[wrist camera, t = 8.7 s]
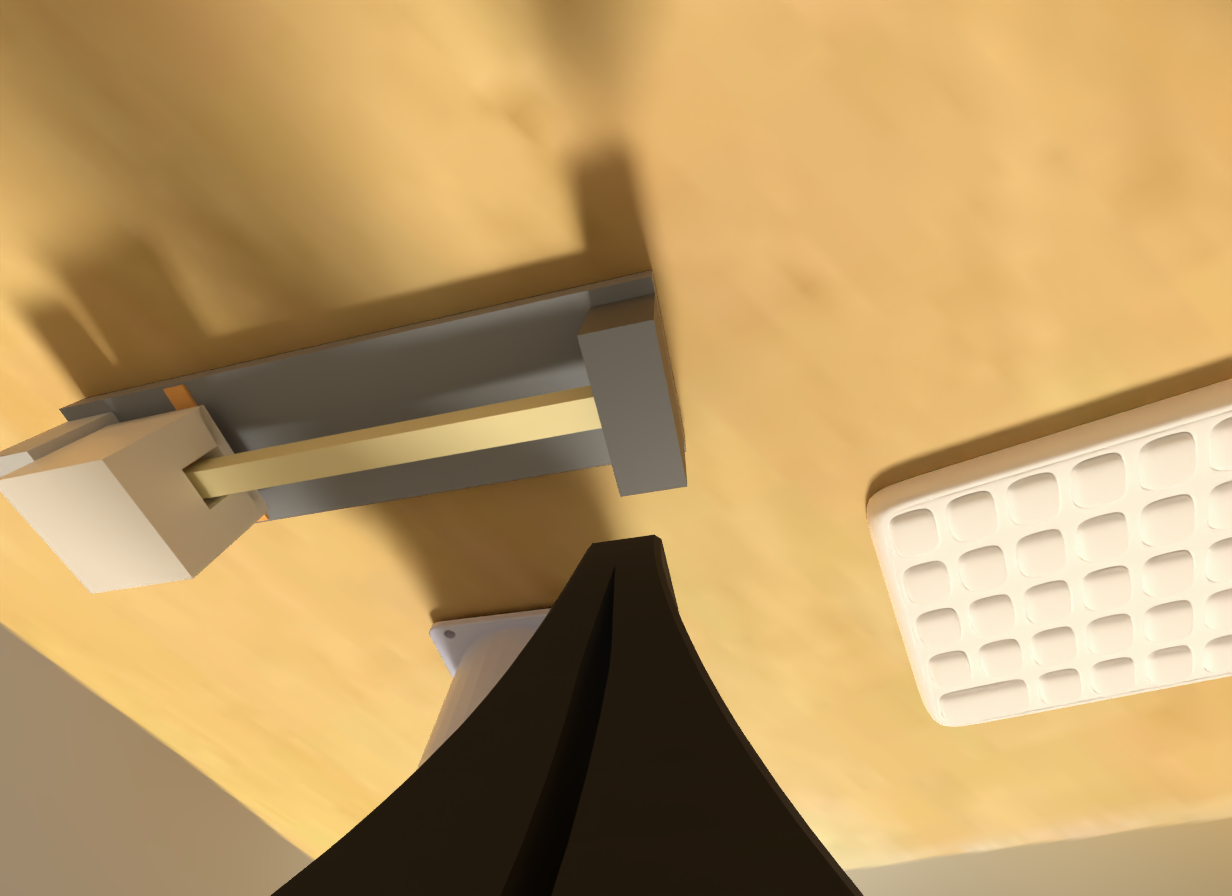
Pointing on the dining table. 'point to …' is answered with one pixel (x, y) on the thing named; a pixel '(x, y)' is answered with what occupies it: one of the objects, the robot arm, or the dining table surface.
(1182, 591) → the calculator
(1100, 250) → the dining table surface
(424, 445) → the cord board
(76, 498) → the beige sliding bead
